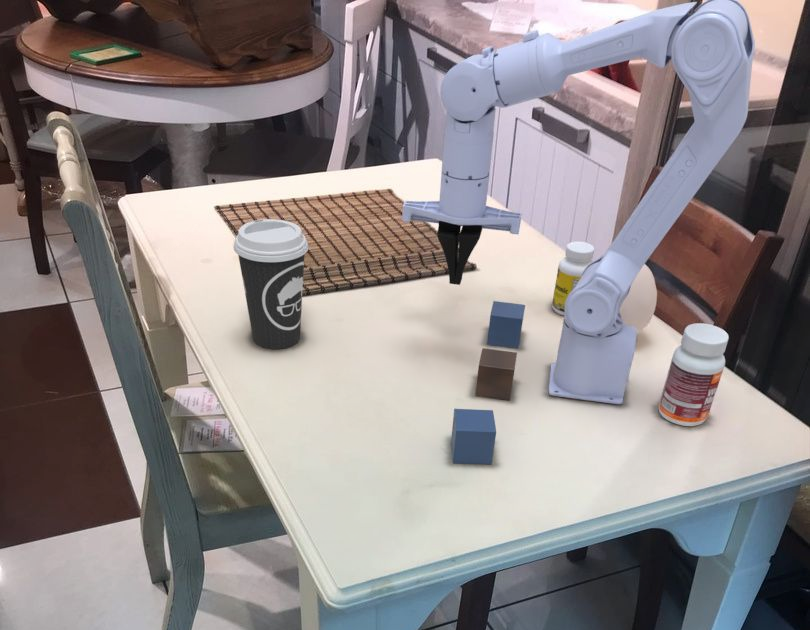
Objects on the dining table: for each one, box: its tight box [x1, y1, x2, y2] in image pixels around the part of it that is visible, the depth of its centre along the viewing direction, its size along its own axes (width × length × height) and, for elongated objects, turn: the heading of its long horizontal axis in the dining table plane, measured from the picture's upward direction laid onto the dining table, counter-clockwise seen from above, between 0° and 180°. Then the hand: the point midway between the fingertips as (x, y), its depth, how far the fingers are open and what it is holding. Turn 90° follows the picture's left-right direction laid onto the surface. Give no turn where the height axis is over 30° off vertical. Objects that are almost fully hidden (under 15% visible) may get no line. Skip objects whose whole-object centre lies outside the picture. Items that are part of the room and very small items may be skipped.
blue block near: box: [450, 408, 497, 465], centre depth 96 cm, size 4×4×4 cm
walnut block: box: [474, 347, 518, 401], centre depth 107 cm, size 4×4×4 cm
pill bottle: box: [658, 322, 730, 427], centre depth 102 cm, size 6×6×11 cm
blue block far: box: [486, 300, 526, 349], centre depth 117 cm, size 4×4×4 cm
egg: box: [619, 263, 658, 335], centre depth 117 cm, size 9×9×12 cm
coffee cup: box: [233, 218, 309, 350], centre depth 111 cm, size 10×10×15 cm
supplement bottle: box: [551, 241, 595, 316], centre depth 124 cm, size 5×5×10 cm
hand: (455, 281), depth 108 cm, fingers closed
